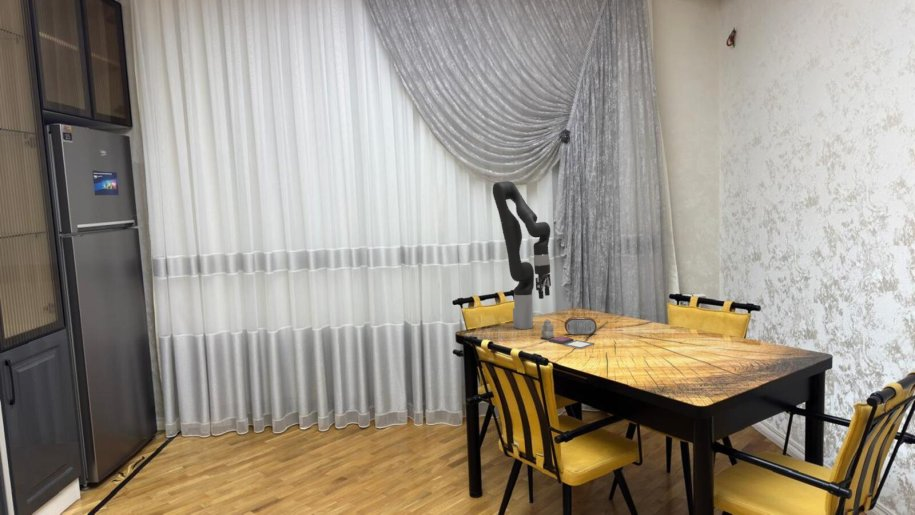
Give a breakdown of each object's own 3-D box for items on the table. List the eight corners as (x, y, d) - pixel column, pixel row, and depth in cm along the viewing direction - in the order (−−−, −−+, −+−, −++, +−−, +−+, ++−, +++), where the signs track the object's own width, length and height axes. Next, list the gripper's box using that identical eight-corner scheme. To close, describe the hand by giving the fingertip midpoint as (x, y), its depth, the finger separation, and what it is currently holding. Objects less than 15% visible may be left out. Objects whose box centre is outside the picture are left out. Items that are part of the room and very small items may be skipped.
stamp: (540, 338, 284) (540, 319, 283) (547, 336, 287) (546, 317, 286) (548, 340, 281) (547, 320, 280) (554, 338, 284) (554, 319, 283)
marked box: (562, 345, 271) (562, 344, 271) (576, 340, 278) (576, 339, 277) (581, 349, 263) (581, 348, 263) (594, 344, 270) (594, 343, 270)
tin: (596, 333, 290) (596, 316, 289) (597, 335, 287) (597, 317, 286) (564, 334, 292) (564, 316, 291) (565, 335, 288) (564, 318, 287)
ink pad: (548, 341, 278) (548, 338, 278) (559, 338, 284) (559, 335, 283) (562, 344, 272) (562, 341, 272) (573, 341, 278) (573, 338, 277)
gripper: (539, 262, 299) (542, 294, 300) (529, 265, 287) (531, 299, 288) (554, 261, 295) (556, 294, 297) (544, 265, 283) (546, 299, 284)
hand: (544, 297), depth 292 cm, fingers open, 8 cm apart
